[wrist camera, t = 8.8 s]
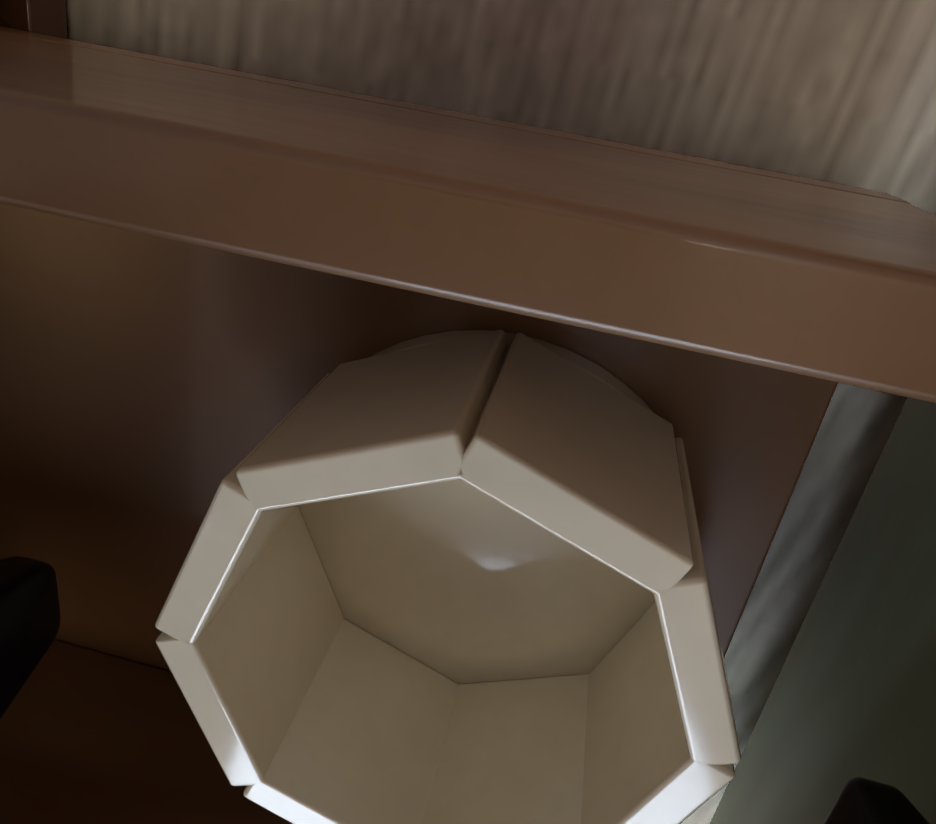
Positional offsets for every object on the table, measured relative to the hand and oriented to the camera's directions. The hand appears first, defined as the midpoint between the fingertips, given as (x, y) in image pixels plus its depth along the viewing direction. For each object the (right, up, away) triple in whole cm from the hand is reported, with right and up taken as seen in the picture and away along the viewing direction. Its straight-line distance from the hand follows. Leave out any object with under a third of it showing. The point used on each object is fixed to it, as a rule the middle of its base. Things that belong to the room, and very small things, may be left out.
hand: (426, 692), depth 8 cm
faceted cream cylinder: (+1, +1, +3) cm, 3 cm away
